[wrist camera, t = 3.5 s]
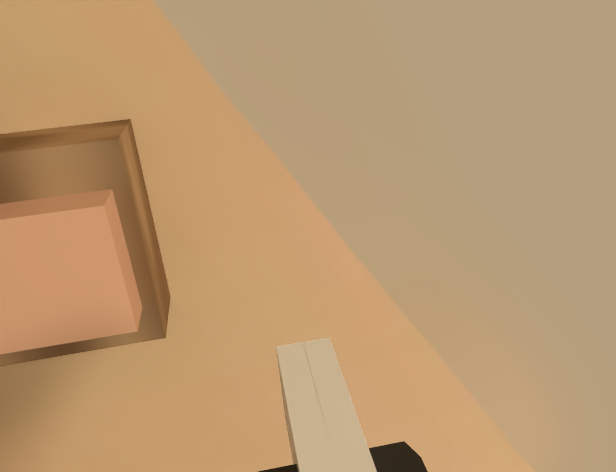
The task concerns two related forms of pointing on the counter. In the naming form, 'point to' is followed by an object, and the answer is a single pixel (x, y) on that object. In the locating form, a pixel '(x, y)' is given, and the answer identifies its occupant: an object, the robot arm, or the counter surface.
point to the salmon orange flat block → (64, 272)
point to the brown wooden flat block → (88, 178)
